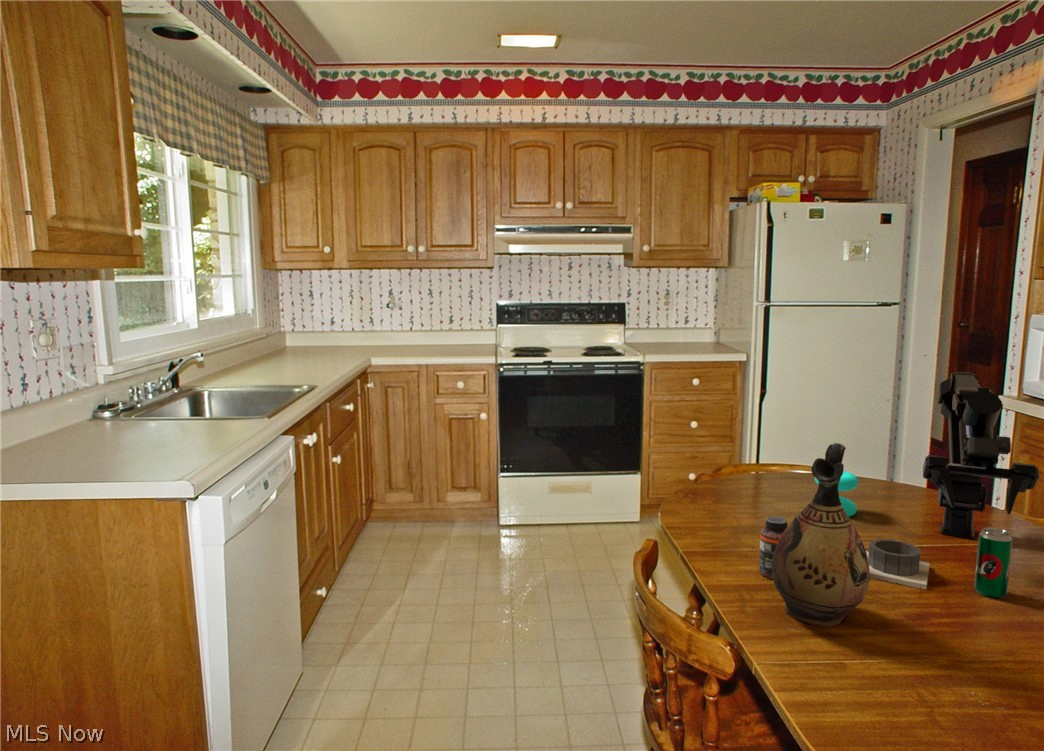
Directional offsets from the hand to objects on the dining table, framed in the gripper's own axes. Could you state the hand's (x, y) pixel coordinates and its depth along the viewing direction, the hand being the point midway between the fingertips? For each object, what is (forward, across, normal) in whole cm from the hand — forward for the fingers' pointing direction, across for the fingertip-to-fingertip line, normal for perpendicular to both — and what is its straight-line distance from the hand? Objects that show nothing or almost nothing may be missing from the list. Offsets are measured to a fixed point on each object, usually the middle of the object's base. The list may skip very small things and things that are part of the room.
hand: (980, 510), depth 130 cm
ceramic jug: (+30, -27, -12) cm, 42 cm away
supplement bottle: (+21, -36, -2) cm, 41 cm away
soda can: (+15, +1, +4) cm, 16 cm away
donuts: (-10, -26, +30) cm, 41 cm away
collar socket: (+13, -14, +6) cm, 20 cm away
